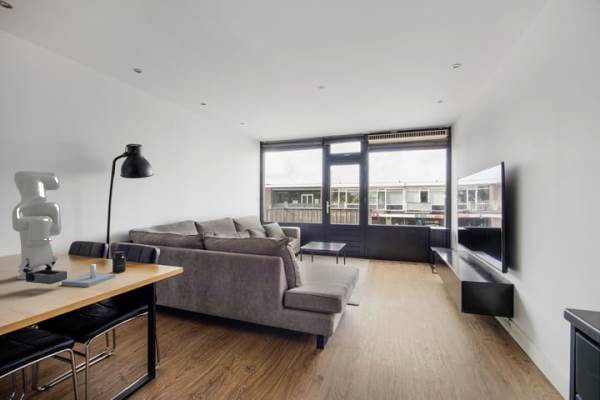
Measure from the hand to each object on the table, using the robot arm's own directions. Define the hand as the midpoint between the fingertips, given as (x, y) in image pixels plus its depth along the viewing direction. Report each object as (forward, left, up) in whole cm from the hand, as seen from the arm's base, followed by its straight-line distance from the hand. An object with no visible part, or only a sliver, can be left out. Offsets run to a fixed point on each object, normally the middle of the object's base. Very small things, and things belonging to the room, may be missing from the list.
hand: (39, 277), depth 131 cm
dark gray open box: (+4, 0, -1) cm, 5 cm away
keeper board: (+14, +14, -5) cm, 20 cm away
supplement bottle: (+15, +32, -5) cm, 35 cm away
